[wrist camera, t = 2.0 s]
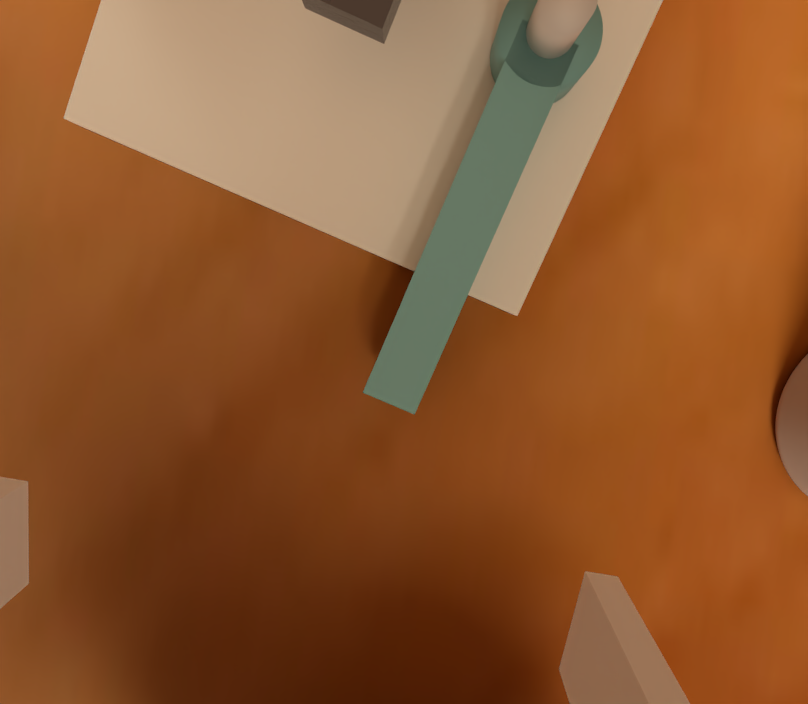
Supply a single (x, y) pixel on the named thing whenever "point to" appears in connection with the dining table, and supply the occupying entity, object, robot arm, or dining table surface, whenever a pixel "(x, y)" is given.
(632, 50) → the base plate
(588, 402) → the dining table surface
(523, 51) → the latch bar
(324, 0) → the bar
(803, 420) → the cylinder vase
